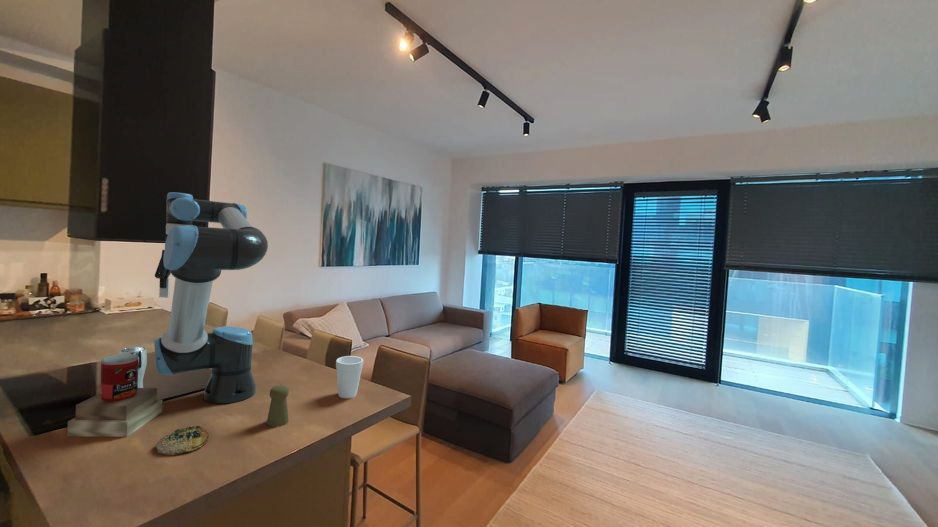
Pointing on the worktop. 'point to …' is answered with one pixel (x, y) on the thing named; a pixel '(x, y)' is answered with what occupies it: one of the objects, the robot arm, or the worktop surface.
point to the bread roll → (183, 440)
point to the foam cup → (348, 375)
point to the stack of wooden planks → (115, 415)
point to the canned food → (119, 377)
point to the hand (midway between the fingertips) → (176, 294)
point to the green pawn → (278, 406)
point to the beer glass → (141, 361)
